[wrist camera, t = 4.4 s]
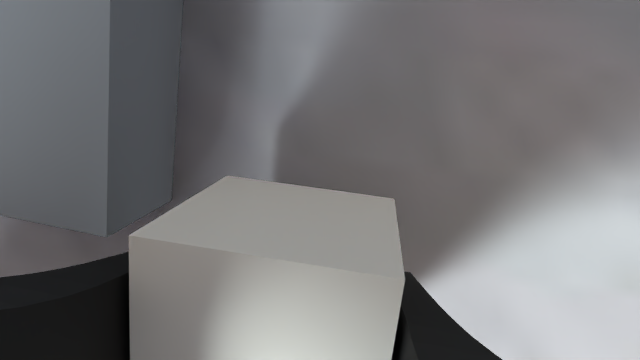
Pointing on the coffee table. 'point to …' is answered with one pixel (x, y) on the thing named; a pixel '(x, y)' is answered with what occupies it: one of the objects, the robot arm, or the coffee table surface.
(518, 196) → the coffee table surface
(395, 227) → the cream cube
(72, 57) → the gray block
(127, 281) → the robot arm
